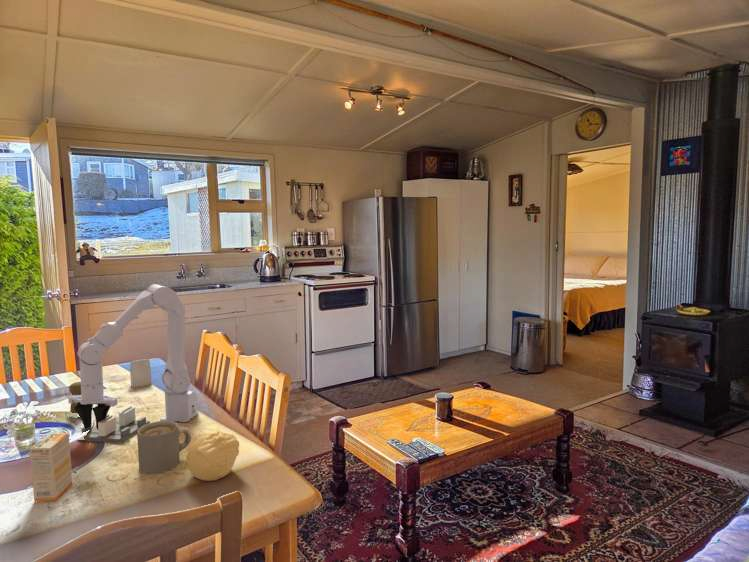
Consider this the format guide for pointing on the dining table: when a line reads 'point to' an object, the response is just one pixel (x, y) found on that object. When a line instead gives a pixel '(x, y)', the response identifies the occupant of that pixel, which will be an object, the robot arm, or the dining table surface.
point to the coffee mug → (160, 446)
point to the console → (115, 432)
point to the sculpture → (212, 455)
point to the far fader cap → (127, 416)
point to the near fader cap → (107, 426)
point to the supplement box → (51, 467)
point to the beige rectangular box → (140, 373)
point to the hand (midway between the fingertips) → (94, 427)
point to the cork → (75, 393)
